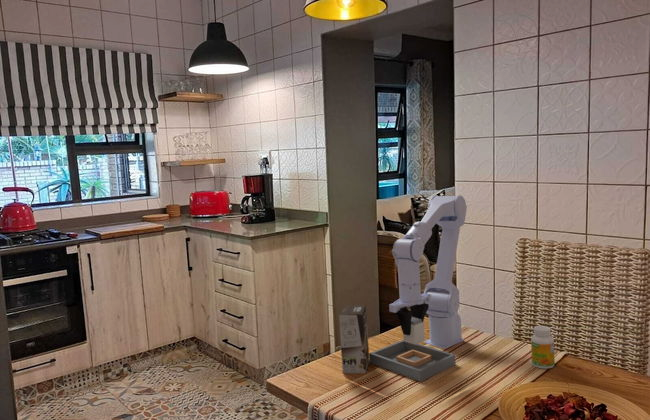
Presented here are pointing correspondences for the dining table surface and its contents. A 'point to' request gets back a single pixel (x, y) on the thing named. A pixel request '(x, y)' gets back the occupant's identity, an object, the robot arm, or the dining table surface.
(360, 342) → the coffee box
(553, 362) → the supplement bottle
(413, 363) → the inlet socket
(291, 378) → the dining table surface
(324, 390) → the dining table surface
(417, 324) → the plug block
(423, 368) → the walled box
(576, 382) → the dining table surface
